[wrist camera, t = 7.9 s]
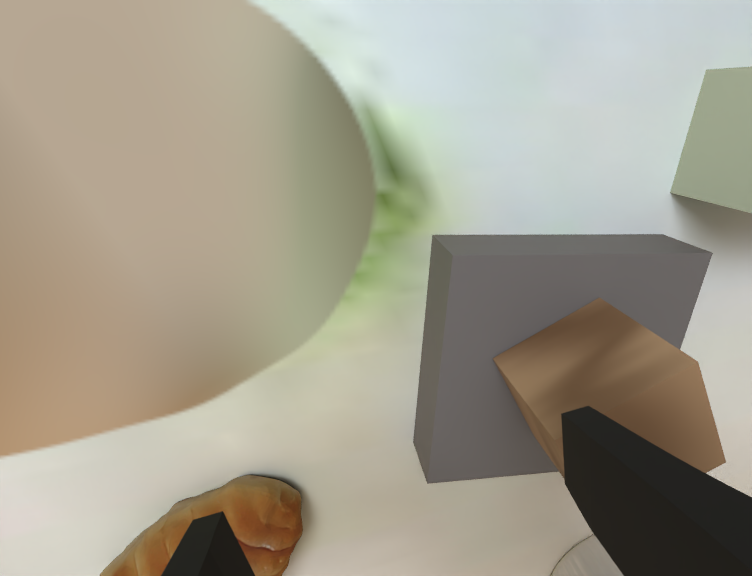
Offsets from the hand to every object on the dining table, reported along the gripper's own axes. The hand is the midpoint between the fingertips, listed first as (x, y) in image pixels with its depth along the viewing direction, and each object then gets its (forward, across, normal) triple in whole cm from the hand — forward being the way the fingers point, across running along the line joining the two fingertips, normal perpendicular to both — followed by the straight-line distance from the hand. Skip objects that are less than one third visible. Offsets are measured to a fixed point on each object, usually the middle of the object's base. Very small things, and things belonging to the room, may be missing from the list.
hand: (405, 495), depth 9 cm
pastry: (+10, +10, +10) cm, 17 cm away
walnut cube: (+7, -7, +4) cm, 11 cm away
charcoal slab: (+10, -7, +4) cm, 13 cm away
